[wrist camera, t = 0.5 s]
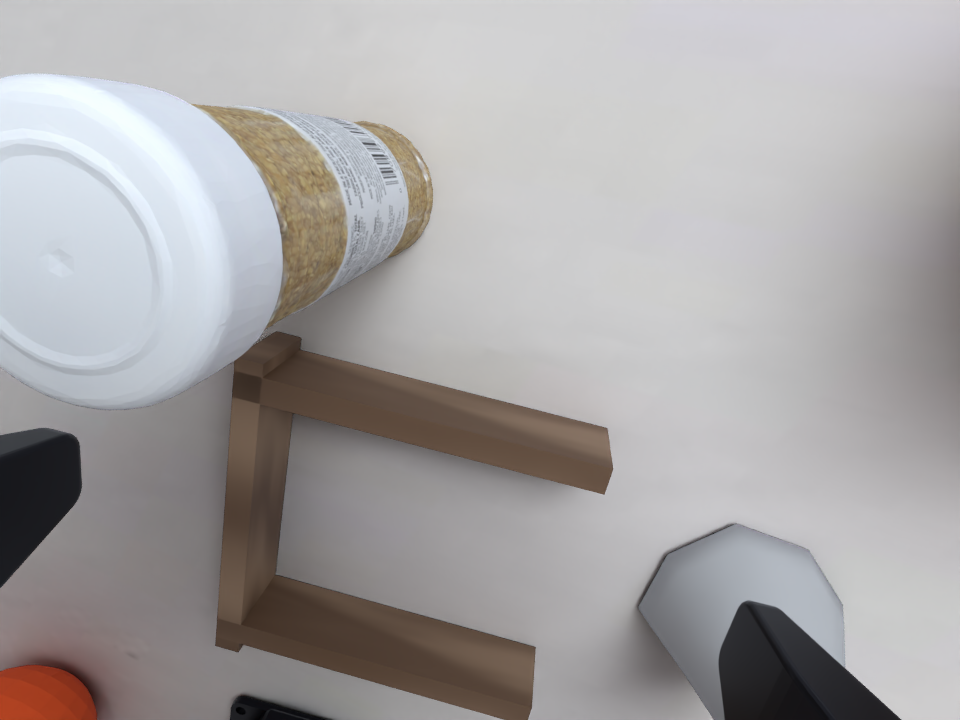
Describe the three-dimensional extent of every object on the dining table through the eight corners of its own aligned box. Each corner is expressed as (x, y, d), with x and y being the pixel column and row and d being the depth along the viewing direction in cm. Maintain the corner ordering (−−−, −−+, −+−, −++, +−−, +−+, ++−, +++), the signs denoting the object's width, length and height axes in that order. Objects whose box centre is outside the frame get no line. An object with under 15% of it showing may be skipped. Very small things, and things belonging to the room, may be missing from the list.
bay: (527, 672, 26) (522, 734, 23) (251, 594, 27) (215, 645, 24) (611, 416, 22) (617, 456, 19) (276, 331, 22) (234, 356, 20)
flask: (736, 698, 25) (836, 1018, 16) (605, 603, 25) (629, 880, 15) (875, 598, 23) (1090, 909, 13) (733, 489, 22) (857, 738, 13)
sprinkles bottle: (284, 166, 20) (-175, 189, 8) (392, 93, 19) (55, -20, 6) (355, 282, 21) (52, 468, 9) (462, 220, 20) (288, 334, 8)
